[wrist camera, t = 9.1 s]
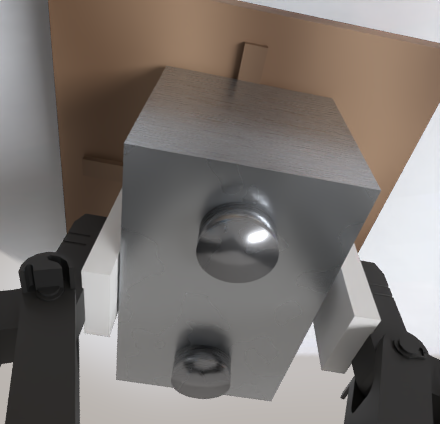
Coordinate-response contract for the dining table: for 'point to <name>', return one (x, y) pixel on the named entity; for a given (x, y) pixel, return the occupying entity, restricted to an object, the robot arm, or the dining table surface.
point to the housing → (231, 231)
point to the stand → (231, 68)
